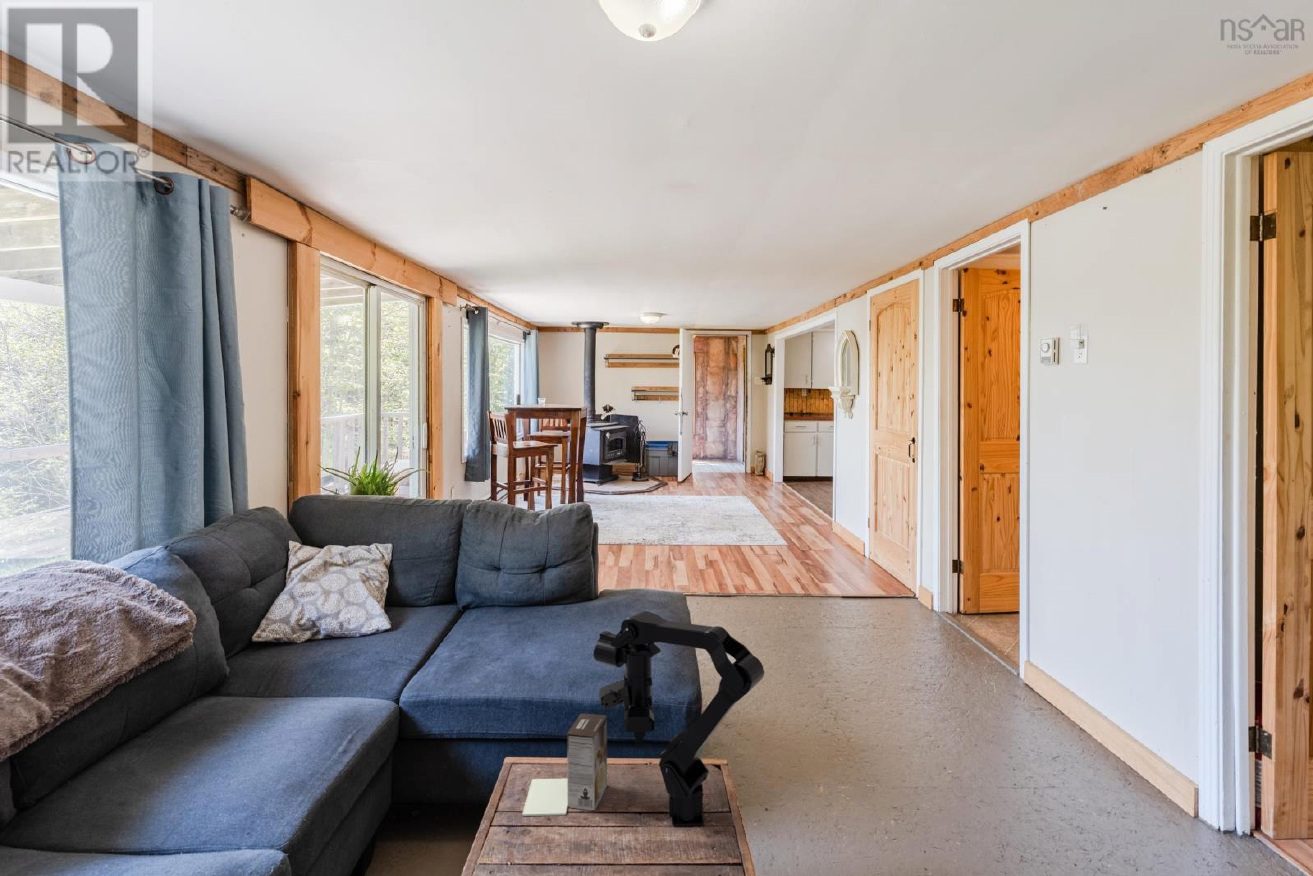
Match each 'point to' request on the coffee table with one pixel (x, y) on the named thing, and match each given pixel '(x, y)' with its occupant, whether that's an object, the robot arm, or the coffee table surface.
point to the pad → (546, 798)
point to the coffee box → (587, 761)
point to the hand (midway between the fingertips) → (638, 743)
